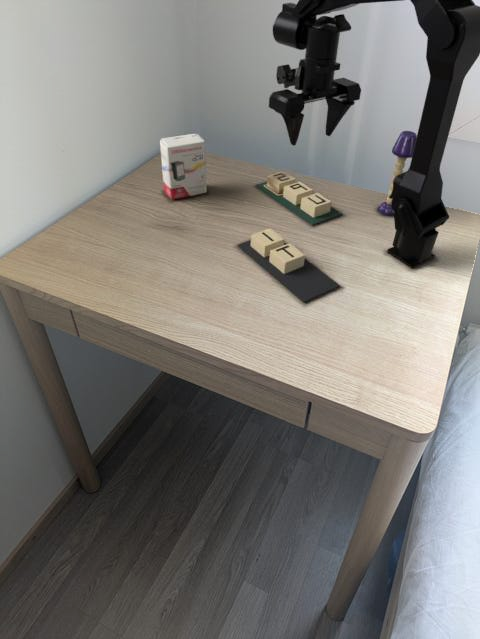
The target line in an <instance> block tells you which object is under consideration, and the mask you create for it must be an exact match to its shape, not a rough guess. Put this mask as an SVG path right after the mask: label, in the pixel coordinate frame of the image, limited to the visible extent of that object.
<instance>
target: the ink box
mask: <svg viewBox="0 0 480 639" xmlns="http://www.w3.org/2000/svg"><path fill="white" fill-rule="evenodd" d="M159 146H160V147H159V148H160V159H161V160H160V161H161V172H162V173H161V174H162V185H163V192H164V194H165V195H166V196H167V197H168V198H170V200H177V199H183V198H188V197H192V196H196V195H197V196H198V195H201V194H206V193H207V192H208V191H207V163H206V141H205V140H204V138H203V137H202V136H201V135H199V134H198V133H189V134H182V135H177V136H168V137H161V139H160V140H159Z"/></svg>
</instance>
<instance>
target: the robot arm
mask: <svg viewBox="0 0 480 639" xmlns="http://www.w3.org/2000/svg"><path fill="white" fill-rule="evenodd" d="M400 1H401V2H402V1H403V2H404V0H298V1H297V3H294V2H285V3H282V6H281V11H280V12H279V13H278V15H277V16H276V18H275V20H274V22H273V24H272V36H273V39H274V41H275V42H276V43H278V44H280V45H283V46H286V47H289V48H292V49H296V50H299V51H304V50H305V54H304V58H302V59H301V58H300V60H299V62H298V67H296V68H291V66H290V64H281V65H278V66H277V68H276V74H275V75H276V76H275V77H276V83H277V84H278V85H283V88H284V89H281V90H277V91H272V93H271V94H270V95H269V98H268V108H269V109H271V110H273V111H275V113H277V114H279V115H281V117H282V119H283V121H284V124H285V127H286V131H287V134H288V138H289V142H290V145H292V146H293V147H295V146H296V145H297V142H298V139H299V136H300V132H301V129H302V125H303V121H304V117H305V114H304V113H302V112H303V111H304V110H305V105H306V104H309V103H315V102H319V101H324V100H325V102H326V105H327V111H326V120H325V136H327V137H331V136H332V134H333V133H334V131H335V129H336V128H337V126H338V125H339V123H340V122H341V120H342V119H343V118H344V117H345V115H346V114H347V112H348V111H349V110H350V108H351V107H352V106H354V105H355V103H356V101H359V100H360V99H361V94H362V88H361V85H360V83H358V82H356V81H354V80H351V79H348V78H346V77H340V78H335V73H336V71H340V70H341V63H339V62H337V57H338V50H339V44H340V36H341V33H344V32H345V33H346V32H350V31H351V30H352V25H351V24H350V22H349V21H348V20H347V19H346V16H345V14H344V13H341V14H335V15H334V16H329V14H331V13H333V12H340V11H343V10H344V11H345V10H347V9H350V8H353V7H356V6H358V5H360V4H371V3H373V4H374V3H386V2H400ZM410 2H411V3H412V5H413V7H414V11H415V15H416V19H417V23H418V25H419V27H420V28H421V30H422V31H423V32H424V34H425V35H426V38H427V41H426V52H425V53H426V54H425V60H426V64H427V68H428V72H429V81H428V86H427V90H426V94H425V99H424V104H423V108H422V113H421V117H420V119H419V120H420V121H419V126H418V130H417V133H416V135H417V138H416V142H415V146H414V151H413V155H412V158H410V159H411V160H410V165H409V167H408V169H407V170H406V171H403V173H402V174H399V175H397V176H395V178H394V181H393V191H392V194H391V195H390V197H389V199H392V203H391V207H392V210H393V211H394V215H393V220H394V230H395V233H394V237H393V241H392V246H391V247H389V248H388V249H387V250H386V253H387V254H389V255H390V256H392V257H393V258H394V259H396V260H398V261H399V262H401V263H403V264H404V265H405V266H407V267H409V268H410V269H415V268H417V267H419V266H421V265H424V264H426V263H428V262H430V261H433V260H434V259H435V258H436V255H435V254H434V253H433V250H434V247H435V245H436V241H437V238H438V235H439V230H436V229H437V228H439V227H440V226H443V225H444V224H446V222H448V220H449V219H450V215H449V212H448V211H447V208H446V206H445V204H444V201H443V199H442V197H443V196H442V195H443V187H444V181H443V178H442V177H443V176H442V173H441V166H442V165H441V164H442V161H443V157H444V154H445V149H446V145H447V142H448V139H449V135H450V131H451V129H452V128H451V127H452V124H453V121H454V117H455V113H456V110H457V105H458V101H459V98H460V94H461V90H462V87H463V84H464V80H465V78H466V76H467V75H468V73H469V71H470V70H471V68H472V67H473V66H474V64H475V63H476V61H477V60H478V58H479V57H480V6H479V5H476V4H475V2H474V0H410ZM327 14H328V15H327ZM318 16H319V17H318ZM317 17H318V18H317ZM289 87H294V90H296V91H301V92H299V93H296V92H295V91H293V90H290V89H289Z"/></svg>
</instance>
